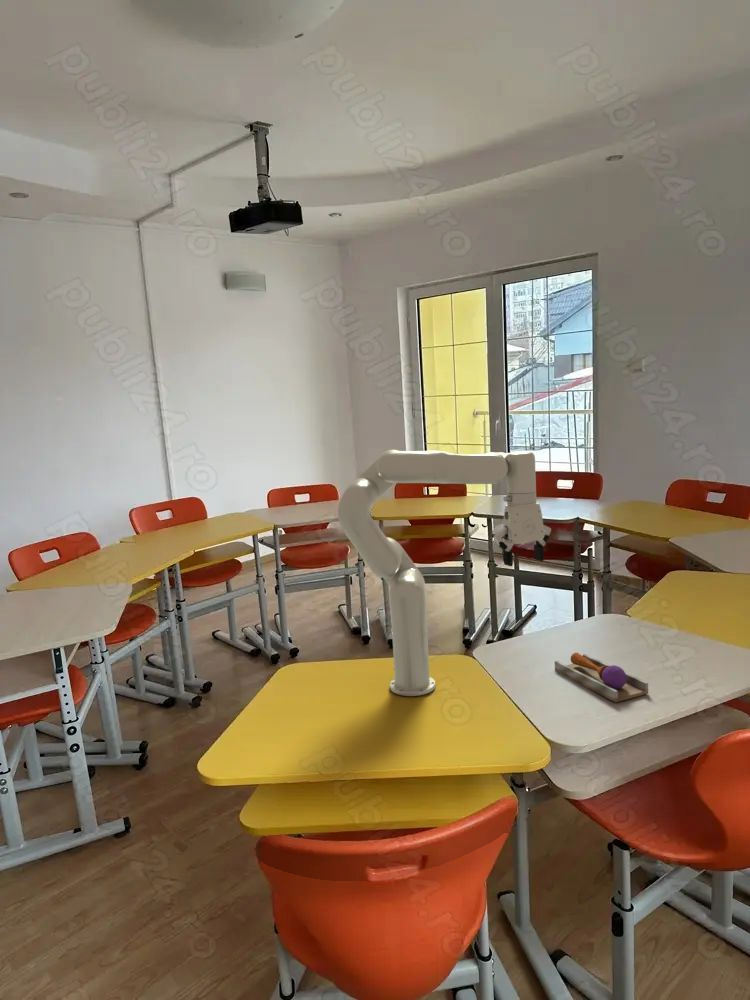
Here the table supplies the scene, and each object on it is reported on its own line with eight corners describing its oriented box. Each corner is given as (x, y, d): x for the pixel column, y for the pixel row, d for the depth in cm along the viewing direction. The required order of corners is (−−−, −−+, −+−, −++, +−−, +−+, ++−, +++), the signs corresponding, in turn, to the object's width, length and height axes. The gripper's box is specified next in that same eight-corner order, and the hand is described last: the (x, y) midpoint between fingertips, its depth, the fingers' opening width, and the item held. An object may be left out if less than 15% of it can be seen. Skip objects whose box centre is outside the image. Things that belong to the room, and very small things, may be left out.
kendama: (585, 648, 189) (632, 669, 170) (583, 668, 189) (630, 692, 170) (567, 647, 187) (612, 669, 168) (565, 668, 188) (610, 692, 169)
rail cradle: (554, 670, 188) (554, 661, 188) (585, 663, 192) (584, 654, 192) (615, 702, 166) (615, 691, 166) (648, 693, 170) (648, 682, 170)
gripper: (501, 503, 168) (503, 570, 170) (557, 496, 175) (559, 560, 177) (485, 501, 175) (488, 564, 177) (540, 494, 182) (542, 555, 184)
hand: (523, 562), depth 177 cm, fingers open, 9 cm apart
